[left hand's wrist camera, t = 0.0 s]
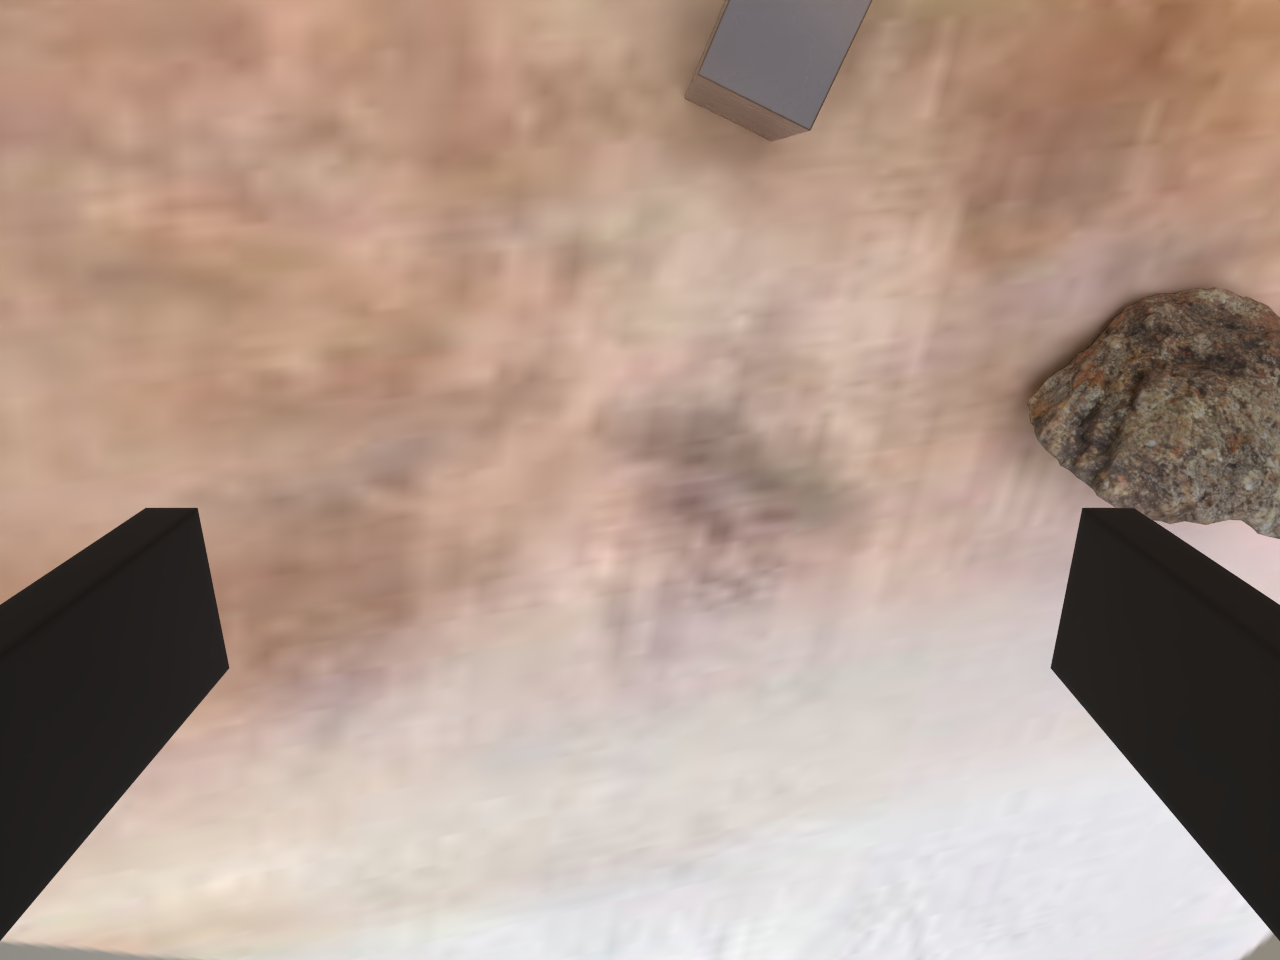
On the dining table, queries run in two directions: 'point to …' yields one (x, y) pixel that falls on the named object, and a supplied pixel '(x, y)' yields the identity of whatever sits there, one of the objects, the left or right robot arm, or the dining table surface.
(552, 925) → the dining table surface
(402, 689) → the dining table surface
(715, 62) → the bar
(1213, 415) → the rock
